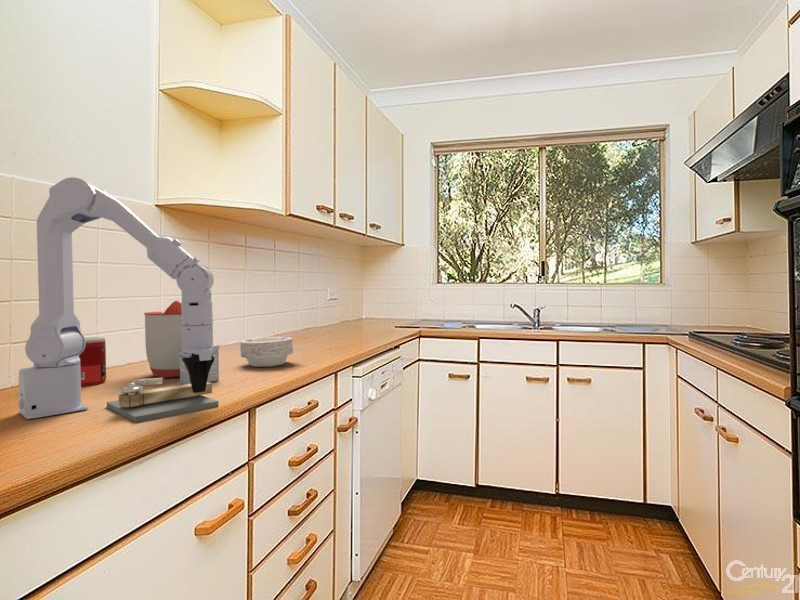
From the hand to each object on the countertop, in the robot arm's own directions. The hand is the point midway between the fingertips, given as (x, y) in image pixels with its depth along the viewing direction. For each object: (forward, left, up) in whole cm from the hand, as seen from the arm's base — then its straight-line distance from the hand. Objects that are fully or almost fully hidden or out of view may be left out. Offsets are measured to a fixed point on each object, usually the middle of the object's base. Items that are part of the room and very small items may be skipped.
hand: (199, 392), depth 95 cm
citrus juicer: (+10, +37, -3) cm, 39 cm away
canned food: (-10, +41, -3) cm, 42 cm away
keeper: (-7, +7, -2) cm, 10 cm away
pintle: (-12, +3, -2) cm, 12 cm away
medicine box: (+9, +21, -3) cm, 23 cm away
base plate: (-6, +3, -2) cm, 7 cm away
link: (-5, +3, -1) cm, 6 cm away
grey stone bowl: (+35, +31, -3) cm, 47 cm away
